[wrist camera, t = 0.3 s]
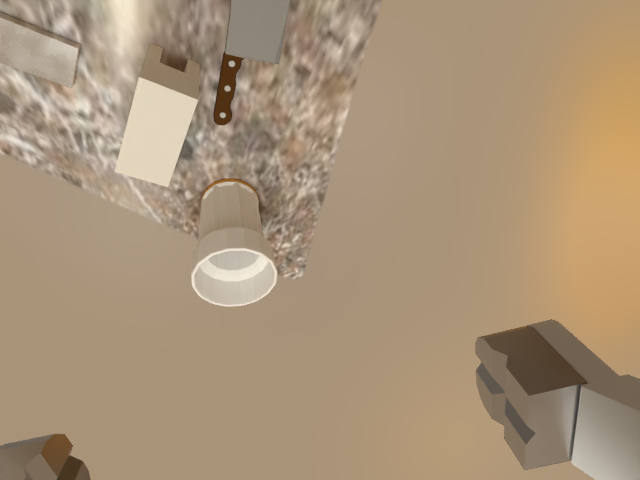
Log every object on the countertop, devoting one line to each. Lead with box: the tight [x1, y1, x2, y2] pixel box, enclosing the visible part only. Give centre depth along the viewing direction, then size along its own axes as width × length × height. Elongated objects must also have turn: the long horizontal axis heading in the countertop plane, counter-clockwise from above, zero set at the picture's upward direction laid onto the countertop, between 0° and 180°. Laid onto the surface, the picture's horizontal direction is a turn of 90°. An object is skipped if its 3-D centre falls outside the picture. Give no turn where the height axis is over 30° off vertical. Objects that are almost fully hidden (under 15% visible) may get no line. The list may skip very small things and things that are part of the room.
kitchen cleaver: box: [214, 0, 290, 125], centre depth 51 cm, size 24×1×10 cm
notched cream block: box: [115, 43, 200, 187], centre depth 50 cm, size 13×6×11 cm, turn 152°
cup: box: [191, 179, 277, 306], centre depth 60 cm, size 11×11×17 cm
